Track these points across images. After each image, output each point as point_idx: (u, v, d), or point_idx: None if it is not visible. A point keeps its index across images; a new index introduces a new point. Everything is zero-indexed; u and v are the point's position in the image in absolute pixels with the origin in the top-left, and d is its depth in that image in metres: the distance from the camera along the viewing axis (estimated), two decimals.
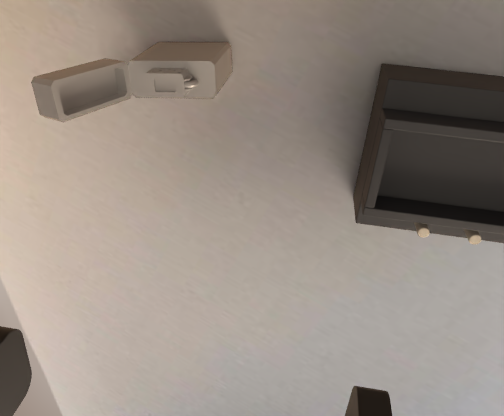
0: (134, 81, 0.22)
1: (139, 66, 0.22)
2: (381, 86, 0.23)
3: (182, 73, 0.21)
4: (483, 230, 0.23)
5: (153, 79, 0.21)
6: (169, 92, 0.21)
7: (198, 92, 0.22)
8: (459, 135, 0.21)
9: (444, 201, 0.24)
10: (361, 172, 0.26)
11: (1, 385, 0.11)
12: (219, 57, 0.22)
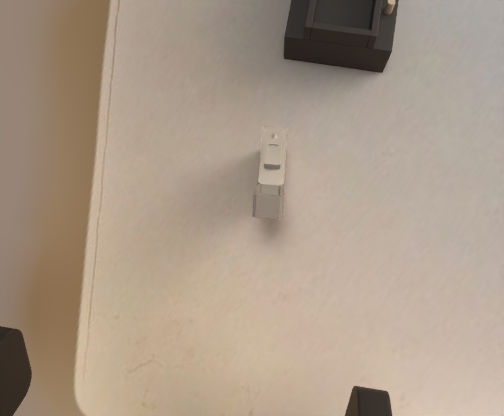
0: (272, 181, 0.31)
1: (262, 175, 0.31)
2: (294, 49, 0.37)
3: (266, 139, 0.31)
4: None
5: (268, 158, 0.31)
6: (278, 149, 0.31)
7: (282, 139, 0.32)
8: None
9: None
10: (357, 60, 0.36)
11: (1, 385, 0.11)
12: None
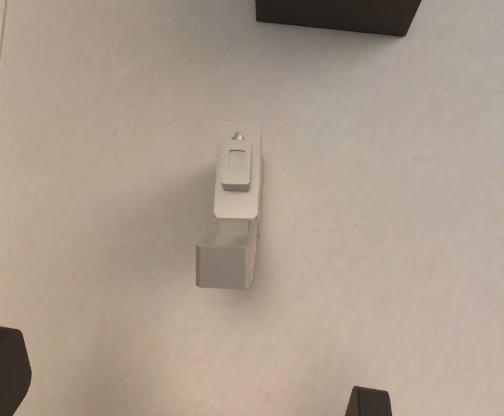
0: (238, 213, 0.18)
1: (220, 203, 0.19)
2: (270, 4, 0.24)
3: (224, 141, 0.18)
4: None
5: (228, 173, 0.18)
6: (244, 158, 0.18)
7: (253, 140, 0.19)
8: None
9: None
10: (367, 18, 0.24)
11: (1, 385, 0.11)
12: None
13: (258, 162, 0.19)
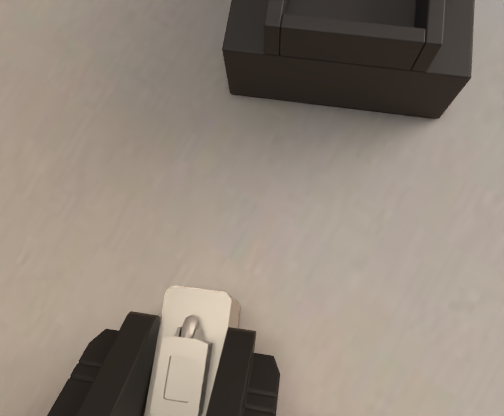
0: None
1: None
2: (248, 76, 0.17)
3: (163, 337, 0.11)
4: None
5: (164, 399, 0.11)
6: (194, 372, 0.11)
7: (216, 325, 0.12)
8: None
9: None
10: (386, 97, 0.17)
11: (148, 368, 0.11)
12: None
13: None
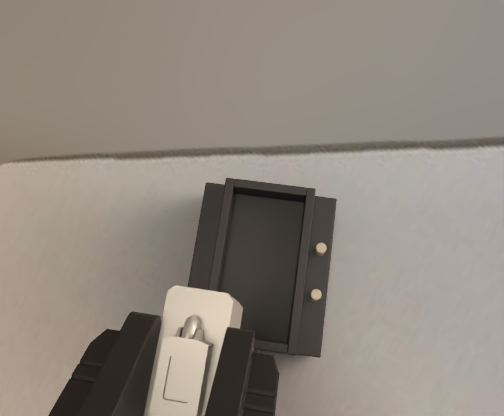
0: None
1: None
2: None
3: (164, 337, 0.11)
4: (307, 243, 0.26)
5: (163, 399, 0.11)
6: (194, 373, 0.11)
7: (217, 326, 0.12)
8: (216, 278, 0.26)
9: (292, 276, 0.27)
10: None
11: (148, 368, 0.11)
12: None
13: None
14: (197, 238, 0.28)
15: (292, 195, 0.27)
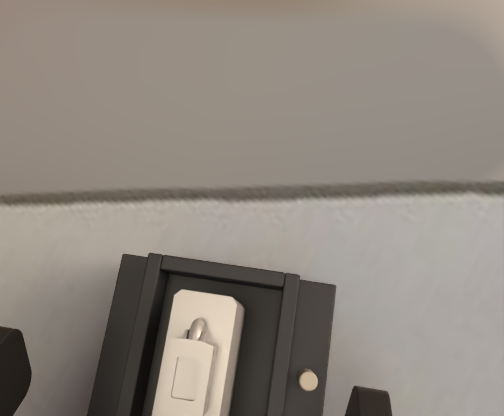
0: None
1: None
2: None
3: (172, 339, 0.12)
4: (284, 375, 0.15)
5: (171, 398, 0.11)
6: (200, 373, 0.11)
7: (222, 328, 0.13)
8: None
9: None
10: None
11: (1, 385, 0.11)
12: None
13: (225, 365, 0.12)
14: (103, 350, 0.17)
15: (260, 284, 0.16)
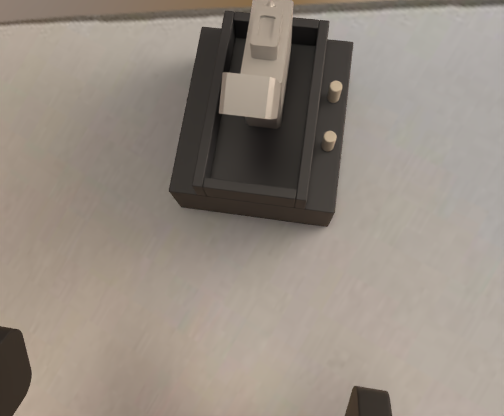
0: None
1: (247, 69, 0.19)
2: (190, 201, 0.24)
3: (256, 8, 0.19)
4: (320, 79, 0.22)
5: (258, 36, 0.18)
6: (275, 23, 0.19)
7: (284, 15, 0.20)
8: (212, 117, 0.22)
9: (301, 125, 0.23)
10: (286, 216, 0.24)
11: (1, 385, 0.11)
12: None
13: (287, 35, 0.20)
14: (191, 86, 0.24)
15: (302, 30, 0.23)
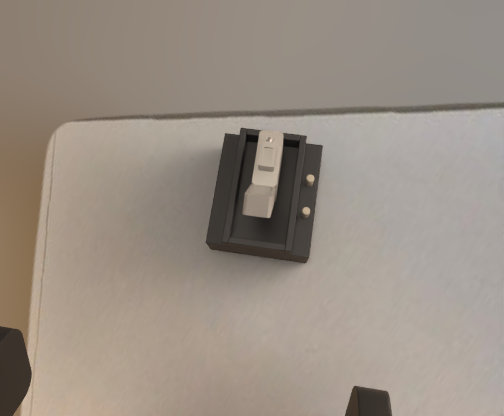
0: (265, 183, 0.33)
1: (256, 176, 0.33)
2: (217, 247, 0.38)
3: (261, 142, 0.32)
4: (300, 174, 0.36)
5: (262, 160, 0.32)
6: (272, 152, 0.32)
7: (278, 143, 0.33)
8: (233, 198, 0.35)
9: (289, 200, 0.37)
10: (279, 257, 0.37)
11: (1, 385, 0.11)
12: None
13: (279, 155, 0.33)
14: (218, 173, 0.37)
15: (289, 140, 0.37)
